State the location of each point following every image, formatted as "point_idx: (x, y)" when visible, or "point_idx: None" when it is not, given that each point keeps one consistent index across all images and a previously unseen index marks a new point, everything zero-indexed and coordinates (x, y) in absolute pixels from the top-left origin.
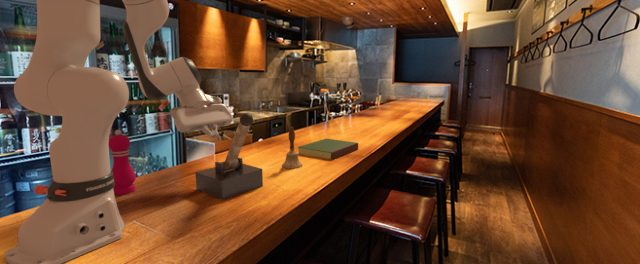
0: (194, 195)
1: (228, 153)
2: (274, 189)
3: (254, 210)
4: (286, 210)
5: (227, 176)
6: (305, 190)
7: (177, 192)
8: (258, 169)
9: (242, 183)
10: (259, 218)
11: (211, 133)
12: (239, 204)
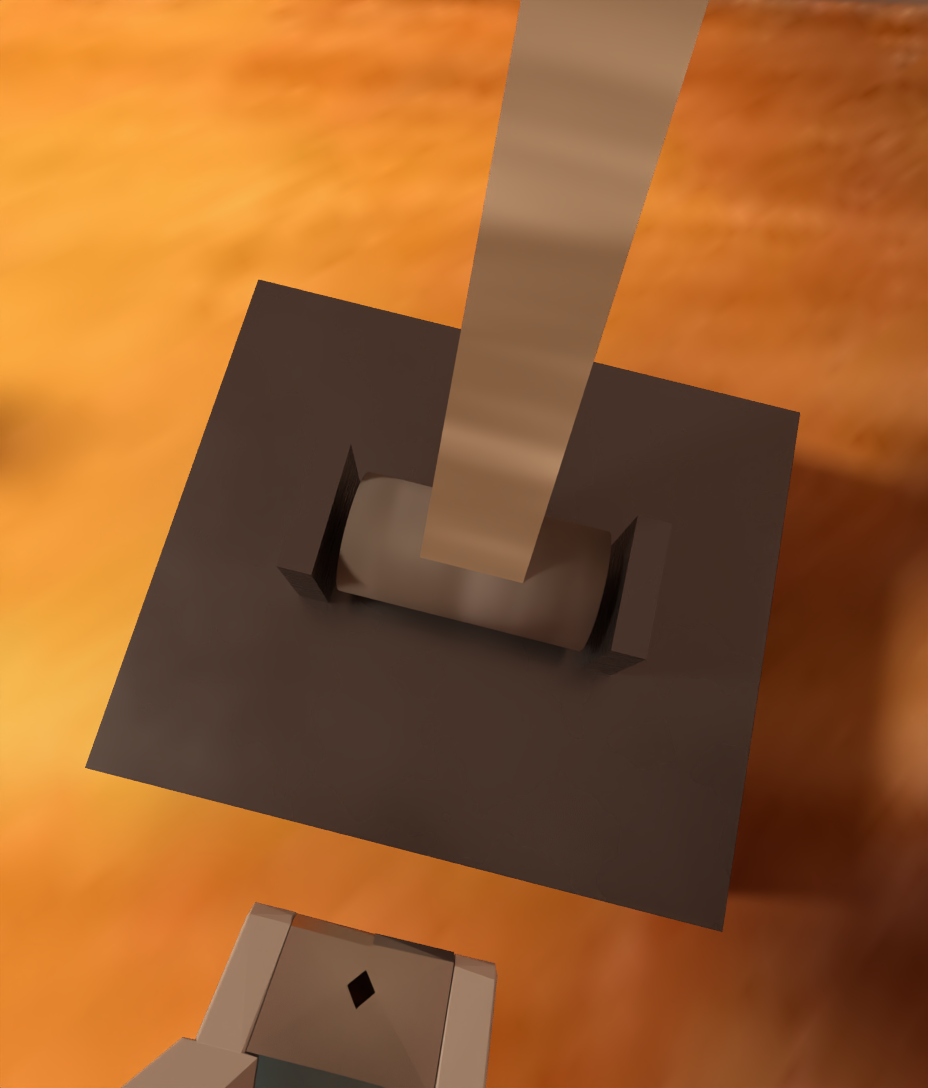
0: (772, 788)
1: (563, 450)
2: (327, 246)
3: (755, 171)
4: None
5: (664, 449)
6: (250, 36)
7: (803, 1022)
8: (298, 302)
9: None
10: (834, 86)
11: (470, 1014)
12: (726, 315)
